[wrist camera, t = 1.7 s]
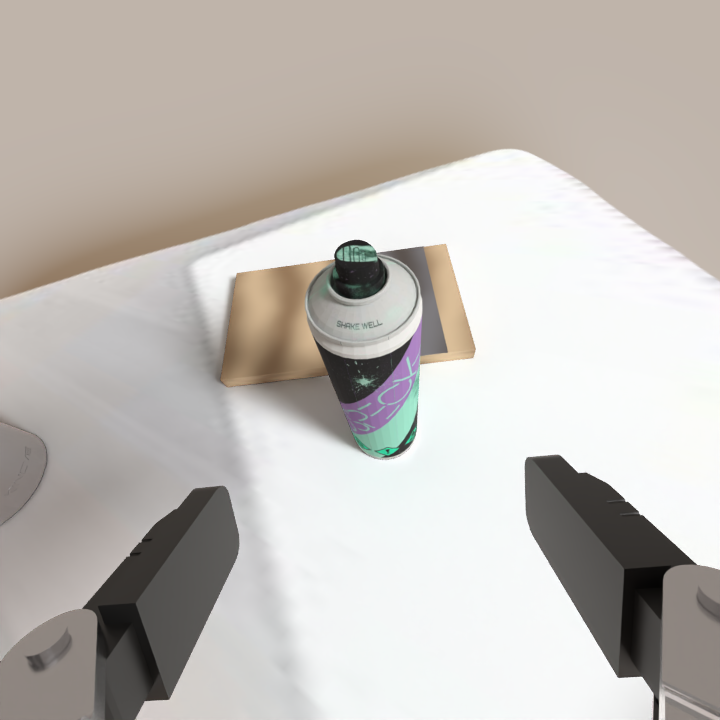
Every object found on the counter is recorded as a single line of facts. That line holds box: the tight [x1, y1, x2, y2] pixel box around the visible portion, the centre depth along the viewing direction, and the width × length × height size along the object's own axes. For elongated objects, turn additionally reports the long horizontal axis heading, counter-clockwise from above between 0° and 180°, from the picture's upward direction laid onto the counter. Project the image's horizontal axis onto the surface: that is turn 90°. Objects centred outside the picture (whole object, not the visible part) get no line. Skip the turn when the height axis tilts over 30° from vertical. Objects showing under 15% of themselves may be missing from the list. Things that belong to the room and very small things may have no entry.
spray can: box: [305, 240, 422, 460], centre depth 23 cm, size 6×6×20 cm
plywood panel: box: [220, 244, 476, 387], centre depth 37 cm, size 24×14×2 cm, turn 94°
